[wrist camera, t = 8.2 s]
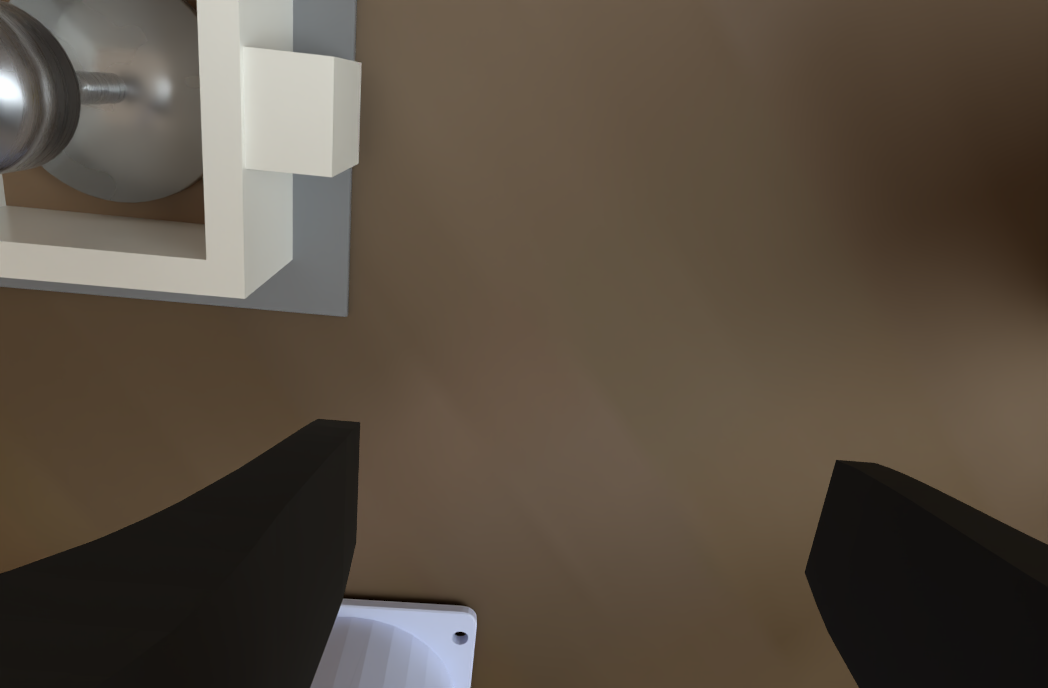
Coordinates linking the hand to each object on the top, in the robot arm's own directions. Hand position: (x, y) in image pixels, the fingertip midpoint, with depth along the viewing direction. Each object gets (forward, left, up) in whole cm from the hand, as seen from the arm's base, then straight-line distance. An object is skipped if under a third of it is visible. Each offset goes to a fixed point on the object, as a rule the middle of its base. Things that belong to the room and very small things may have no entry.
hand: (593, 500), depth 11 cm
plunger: (+5, +11, -10) cm, 15 cm away
